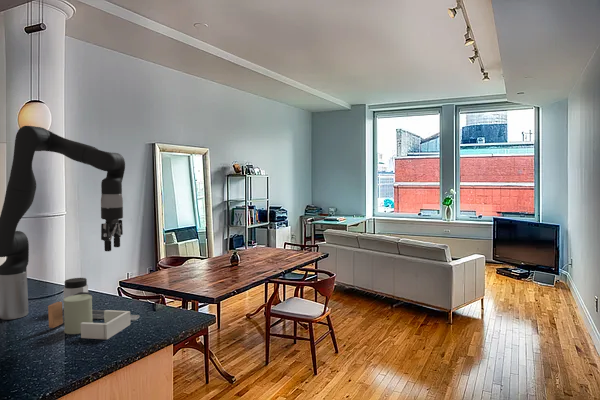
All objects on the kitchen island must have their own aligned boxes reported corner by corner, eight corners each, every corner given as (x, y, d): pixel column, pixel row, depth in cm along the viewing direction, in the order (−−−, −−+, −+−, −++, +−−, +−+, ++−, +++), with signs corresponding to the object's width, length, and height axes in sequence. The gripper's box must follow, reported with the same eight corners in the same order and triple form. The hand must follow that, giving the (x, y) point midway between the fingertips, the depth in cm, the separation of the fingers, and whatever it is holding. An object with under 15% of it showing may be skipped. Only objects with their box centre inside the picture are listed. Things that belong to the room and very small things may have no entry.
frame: (81, 337, 144) (80, 323, 144) (106, 323, 158) (106, 310, 158) (107, 339, 142) (106, 324, 142) (130, 324, 157) (130, 311, 156)
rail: (72, 317, 165) (72, 315, 165) (78, 314, 168) (77, 312, 168) (135, 320, 161) (135, 318, 161) (139, 317, 164) (139, 315, 164)
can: (99, 326, 155) (98, 294, 154) (78, 335, 146) (77, 301, 145) (79, 323, 158) (78, 292, 157) (58, 332, 149) (56, 298, 148)
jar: (65, 313, 170) (64, 283, 170) (63, 307, 177) (62, 279, 176) (90, 309, 175) (89, 280, 174) (87, 304, 182) (86, 276, 181)
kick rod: (48, 327, 151) (47, 305, 150) (81, 312, 168) (80, 292, 168) (79, 329, 149) (78, 307, 149) (109, 313, 167) (108, 293, 166)
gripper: (109, 204, 166) (110, 245, 167) (93, 207, 152) (94, 252, 153) (128, 204, 166) (129, 246, 167) (114, 207, 152) (115, 252, 153)
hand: (112, 249), depth 160 cm, fingers open, 8 cm apart
